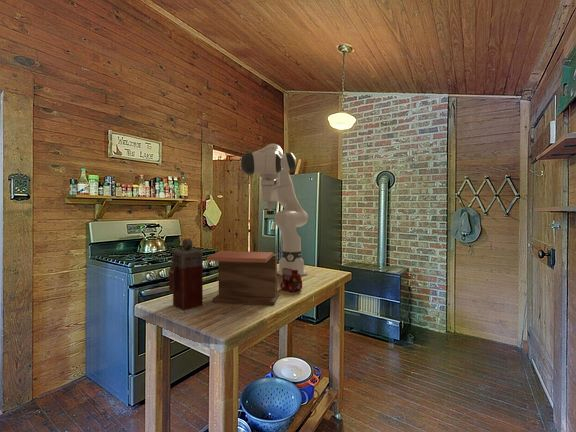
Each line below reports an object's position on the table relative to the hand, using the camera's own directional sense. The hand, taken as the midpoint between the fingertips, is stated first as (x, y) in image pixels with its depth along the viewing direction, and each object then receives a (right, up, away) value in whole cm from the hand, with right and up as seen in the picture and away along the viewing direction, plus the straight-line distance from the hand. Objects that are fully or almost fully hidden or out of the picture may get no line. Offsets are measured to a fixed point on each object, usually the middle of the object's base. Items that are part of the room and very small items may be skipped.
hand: (270, 210), depth 150 cm
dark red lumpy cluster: (+10, -39, +2) cm, 41 cm away
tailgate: (-10, -20, -14) cm, 26 cm away
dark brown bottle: (-34, -40, -22) cm, 57 cm away
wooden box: (-10, -40, -13) cm, 43 cm away
